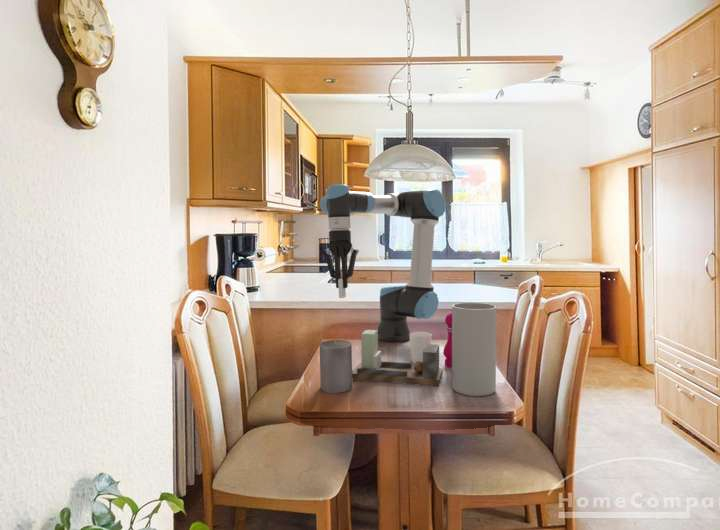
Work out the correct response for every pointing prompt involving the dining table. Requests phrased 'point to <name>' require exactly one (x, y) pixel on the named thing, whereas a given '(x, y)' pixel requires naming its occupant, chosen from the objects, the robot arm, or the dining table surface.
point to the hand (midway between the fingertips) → (342, 297)
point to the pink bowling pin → (448, 341)
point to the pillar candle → (336, 366)
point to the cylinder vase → (474, 348)
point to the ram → (370, 349)
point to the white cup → (418, 344)
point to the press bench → (405, 370)
